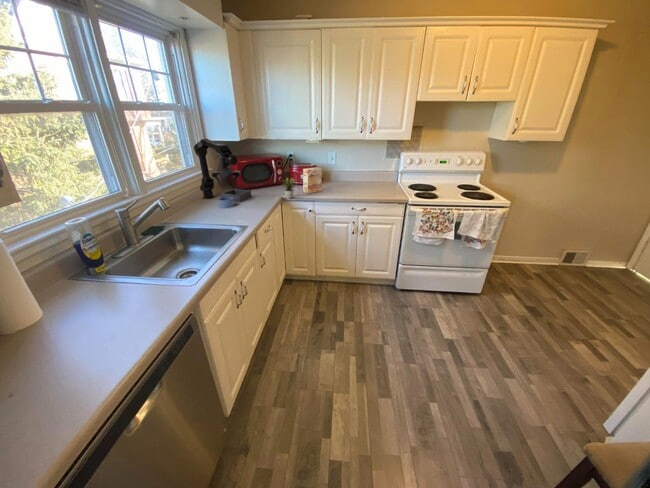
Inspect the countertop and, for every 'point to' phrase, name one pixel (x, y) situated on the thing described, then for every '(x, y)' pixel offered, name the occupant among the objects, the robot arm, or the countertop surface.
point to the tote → (237, 194)
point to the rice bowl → (226, 202)
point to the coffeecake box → (312, 180)
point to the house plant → (289, 188)
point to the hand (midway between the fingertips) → (227, 186)
